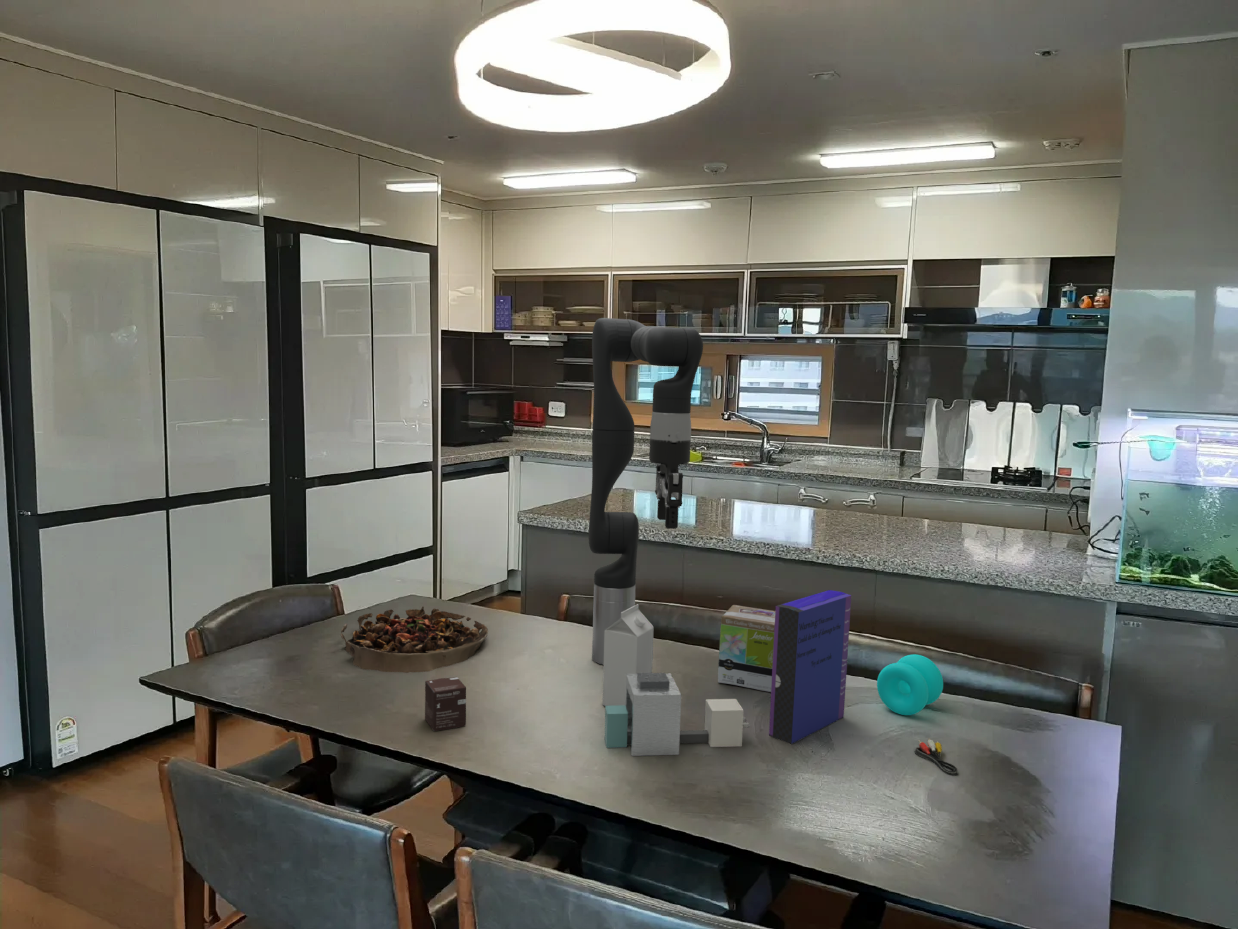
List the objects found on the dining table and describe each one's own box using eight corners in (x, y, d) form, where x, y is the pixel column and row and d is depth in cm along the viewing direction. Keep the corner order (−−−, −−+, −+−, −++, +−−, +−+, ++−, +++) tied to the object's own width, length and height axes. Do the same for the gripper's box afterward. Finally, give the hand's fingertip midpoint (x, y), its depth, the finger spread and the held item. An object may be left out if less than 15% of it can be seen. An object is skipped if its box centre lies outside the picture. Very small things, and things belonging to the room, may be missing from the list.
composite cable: (961, 777, 135) (962, 763, 135) (932, 777, 135) (933, 762, 135) (937, 750, 145) (938, 736, 145) (909, 749, 145) (910, 736, 145)
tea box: (716, 684, 172) (719, 615, 171) (728, 669, 181) (731, 603, 180) (788, 697, 167) (792, 625, 165) (797, 680, 176) (801, 612, 174)
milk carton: (601, 706, 159) (604, 609, 157) (619, 694, 165) (622, 601, 163) (635, 714, 156) (638, 615, 154) (651, 701, 162) (654, 606, 160)
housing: (624, 730, 148) (626, 667, 147) (668, 729, 149) (670, 666, 148) (631, 756, 139) (634, 688, 137) (678, 754, 140) (681, 687, 138)
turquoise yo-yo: (943, 709, 163) (947, 660, 162) (922, 724, 155) (926, 672, 154) (895, 694, 169) (898, 647, 168) (872, 708, 162) (876, 658, 161)
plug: (603, 736, 146) (605, 701, 145) (742, 733, 149) (744, 698, 148) (606, 749, 141) (608, 713, 140) (750, 746, 144) (751, 710, 143)
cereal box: (821, 710, 160) (828, 589, 158) (843, 717, 157) (851, 594, 154) (768, 735, 148) (775, 604, 146) (791, 744, 145) (798, 611, 142)
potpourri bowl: (377, 623, 210) (378, 593, 210) (504, 635, 206) (505, 604, 205) (307, 666, 176) (308, 630, 175) (457, 681, 171) (458, 644, 170)
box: (432, 732, 146) (433, 692, 145) (424, 719, 151) (424, 680, 150) (466, 726, 148) (467, 687, 147) (456, 714, 154) (457, 675, 153)
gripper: (644, 433, 159) (641, 516, 161) (656, 440, 145) (653, 531, 147) (682, 434, 160) (679, 517, 162) (698, 441, 146) (694, 531, 148)
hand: (667, 523), depth 154 cm, fingers open, 8 cm apart
